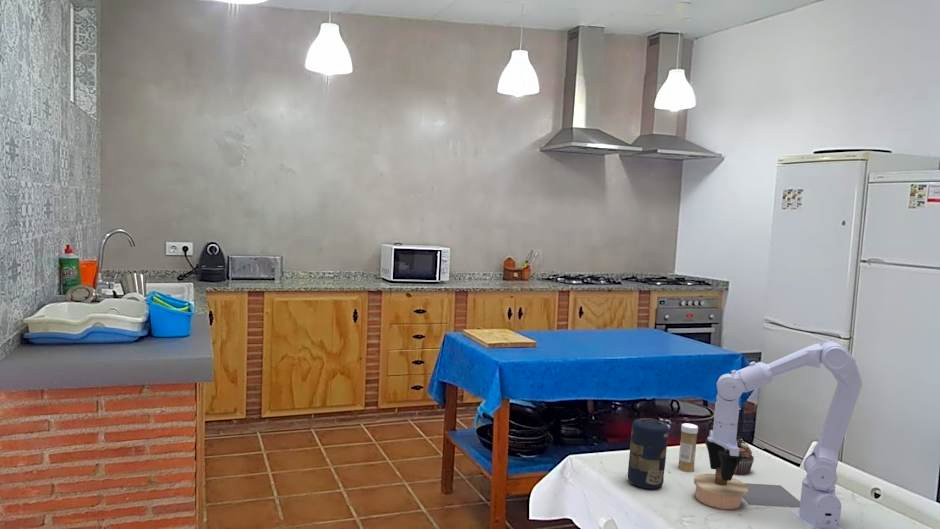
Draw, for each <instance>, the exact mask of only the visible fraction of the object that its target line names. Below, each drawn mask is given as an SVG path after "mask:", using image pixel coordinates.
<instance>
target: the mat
mask: <svg viewBox="0 0 940 529" xmlns="http://www.w3.org/2000/svg"><path fill="white" fill-rule="evenodd" d="M744 483H745V484H746V485H747V486H748V493H747V494H746V495H743V496H742V500H744V501H745V503H747V504H748V505H749V506H765V507H781V508H782V507H783V508H798V509H800V500H799V499H798V498H797V497H795V496H794V495H793V494H792V493H791V492H789V491H788V490H787V489H785V488H784V487H783V486H782V485H781V484H765V483H764V484H763V483H750V482H749V483H746V482H744Z"/></svg>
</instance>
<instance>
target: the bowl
mask: <svg viewBox="0 0 940 529" xmlns="http://www.w3.org/2000/svg"><path fill="white" fill-rule="evenodd" d="M695 498H696V499H697V500H698V501H699V502H700V503H702V504H705V505H706V506H709V507H712V508H718V509H721V510H724V509H725V510H735V509H739V508H741V505H742V500H743V498H742V496H737V497H731V496H722V495H717V494H713V493H710V492H707V491H705V490H702V489H700V488H699V487H697V486H696V485H695Z"/></svg>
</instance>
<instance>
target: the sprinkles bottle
mask: <svg viewBox="0 0 940 529" xmlns="http://www.w3.org/2000/svg"><path fill="white" fill-rule="evenodd" d="M680 426H681V428H680V434H681V435H680V442H679V455H678V466H677V469H678V470H679V471H681V472H685V473H694V472H695V462H696V453H697V452H696V449H697V448H696V447H697V437H698V432H699V426H698V425H696V424H693V423H687V422H685V423H681V425H680Z"/></svg>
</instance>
